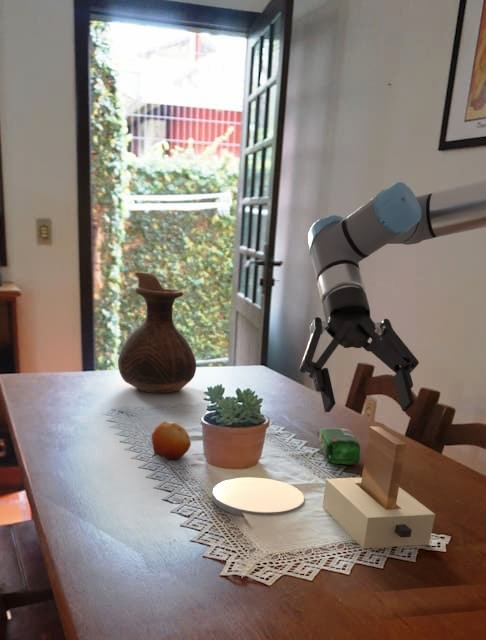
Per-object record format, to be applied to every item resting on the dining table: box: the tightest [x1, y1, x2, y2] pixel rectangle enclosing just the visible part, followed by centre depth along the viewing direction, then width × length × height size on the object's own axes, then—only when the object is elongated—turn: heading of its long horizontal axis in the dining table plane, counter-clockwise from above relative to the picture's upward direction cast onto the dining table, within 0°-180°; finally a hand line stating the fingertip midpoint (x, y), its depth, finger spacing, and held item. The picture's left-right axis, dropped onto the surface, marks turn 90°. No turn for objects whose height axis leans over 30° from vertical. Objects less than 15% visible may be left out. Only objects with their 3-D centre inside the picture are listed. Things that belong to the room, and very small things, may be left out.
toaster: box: [322, 476, 436, 550], centre depth 108 cm, size 11×18×6 cm, turn 13°
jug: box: [117, 271, 197, 394], centre depth 186 cm, size 22×22×30 cm
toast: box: [361, 426, 407, 510], centre depth 107 cm, size 2×9×15 cm, turn 13°
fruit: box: [151, 421, 191, 461], centre depth 137 cm, size 8×8×8 cm
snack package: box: [317, 427, 361, 466], centre depth 143 cm, size 7×16×5 cm, turn 0°
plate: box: [211, 477, 305, 518], centre depth 119 cm, size 16×16×1 cm
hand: (369, 407), depth 109 cm, fingers open, 13 cm apart
